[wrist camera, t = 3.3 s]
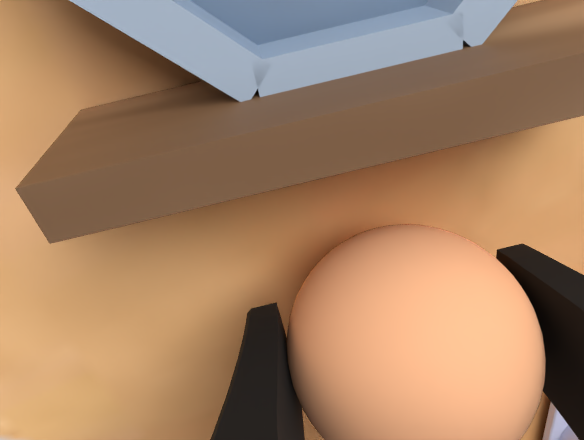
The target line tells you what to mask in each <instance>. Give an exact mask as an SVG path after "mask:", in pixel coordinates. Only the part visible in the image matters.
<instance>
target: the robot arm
mask: <svg viewBox="0 0 584 440" xmlns="http://www.w3.org/2000/svg"><path fill="white" fill-rule="evenodd" d="M496 259H497V260H498V261H499V262H500V263H501V264H503V265H504V266H505V267H506V269H507V270H508V271H509V272H510V273H511V274H512V275H513V276H514V277H515V279H516V280H517V281H518V283H519V284H520V286H521V287H522V289H523V290H524V292H525V293H526V295H527V297H528V299H529V300H530V302H531V304H532V306H533V308H534V310H535V313H536V316H537V319H538V322H539V325H540V328H541V331H542V335H543V342H544V349H545V357H546V365H545V381H544V387H543V391H544V393H545V394H546V396H547V397H548V398H549V400H550V401H551V403H550V408H549V412H548V417H547V421H546V426H545V431H544V435H543V440H584V275H582V274H580V273H578V272H577V271H575V270H573V269H571V268H569V267H567V266H565V265H563V264H561V263H560V262H558V261H556V260H554V259H552V258H550V257H548V256H546V255H544V254H542V253H540V252H539V251H537V250H535V249H533V248H531V247H529V246H527V245H525V244H519V245H514V246H510V247H506V248H502V249H498V250H497V256H496ZM211 440H305V438H304V427H303V416H302V406H301V404H300V401H299V399H298V397H297V394H296V392H295V389H294V387H293V383H292V379H291V375H290V370H289V365H288V357H287V337H286V334H285V330H284V327H283V324H282V320H281V317H280V313H279V310H278V307H277V303H273V304H268V305H264V306H260V307H256V308H252V309H250V311H249V312H248V313H247V319H246V325H245V331H244V335H243V340H242V344H241V348H240V352H239V356H238V360H237V363H236V367H235V370H234V373H233V377H232V380H231V383H230V387H229V390H228V393H227V396H226V399H225V402H224V404H223V407H222V410H221V413H220V415H219V418H218V421H217V424H216V426H215V429H214V432H213V434H212V437H211Z"/></svg>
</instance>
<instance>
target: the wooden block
mask: <svg viewBox="0 0 584 440" xmlns="http://www.w3.org/2000/svg"><path fill="white" fill-rule="evenodd" d="M583 115H584V0H542V1H537V2H533V3H529V4H525V5H521V6H516V7H512V8H511V9H510V10H509V11H508V13H507V14H506V15H505V16H504V18H503V19H502V20H501V21H500V23H499V24H498V25H497V26H496V28H495V29H494V30H493V31H492V33H491V34H490V35H489V36H488V38H487V39H486V40H485V41H484V43H483V44H482V45H477V46H473V47H470V46H468V45H466V44H463V49H461V50H456V51H452V52H448V53H444V54H440V55H435V56H431V57H427V58H423V59H419V60H414V61H410V62H406V63H402V64H398V65H393V66H389V67H385V68H381V69H377V70H372V71H368V72H364V73H360V74H356V75H351V76H347V77H343V78H339V79H335V80H330V81H326V82H322V83H318V84H314V85H310V86H305V87H301V88H297V89H293V90H289V91H284V92H280V93H276V94H272V95H268V96H263V97H260V96H259V92H258V89H257V91H256V92H255V94H254V96H253V97H252V99H251V100H247V101H242V102H239V101H238V100H236V99H234V98H233V97H231V96H229V95H228V94H226V93H224V92H223V91H221V90H219V89H218V88H216V87H214V86H213V85H211V84H209V83H207V82H206V81H201V82H197V83H192V84H188V85H184V86H180V87H176V88H171V89H167V90H163V91H159V92H155V93H150V94H146V95H142V96H138V97H134V98H129V99H125V100H121V101H117V102H112V103H108V104H104V105H100V106H96V107H91V108H87V109H83V110H80V112H79V113H78V114H77V115H76V116H75V118H74V119H73V120H72V121H71V122H70V124H69V125H68V126H67V127H66V128H65V130H64V131H63V132H62V133H61V134H60V136H59V137H58V138H57V139H56V140H55V142H54V143H53V144H52V145H51V146H50V148H49V149H48V150H47V151H46V152H45V154H44V155H43V156H42V157H41V158H40V160H39V161H38V162H37V163H36V164H35V166H34V167H33V168H32V169H31V170H30V172H29V173H28V174H27V175H26V176H25V178H24V179H23V180H22V181H21V182H20V184H19V185H18V186H17V187H16V188H15V189H16V191H17V192H18V194H19V195H20V197H21V199H22V200H23V202H24V203H25V205H26V206H27V208H28V210H29V211H30V213H31V214H32V216H33V218H34V219H35V221H36V222H37V224H38V226H39V227H40V229H41V230H42V232H43V234H44V235H45V237H46V238H47V240H48V242H49V243H50V244H51V243H55V242H59V241H63V240H67V239H71V238H76V237H80V236H84V235H88V234H92V233H96V232H101V231H105V230H109V229H113V228H117V227H121V226H126V225H130V224H134V223H138V222H142V221H146V220H151V219H155V218H159V217H163V216H167V215H171V214H175V213H180V212H184V211H188V210H192V209H196V208H200V207H205V206H209V205H213V204H217V203H221V202H225V201H230V200H234V199H238V198H242V197H246V196H250V195H255V194H259V193H263V192H267V191H271V190H275V189H280V188H284V187H288V186H292V185H296V184H300V183H305V182H309V181H313V180H317V179H321V178H325V177H330V176H334V175H338V174H342V173H346V172H350V171H354V170H359V169H363V168H367V167H371V166H375V165H379V164H384V163H388V162H392V161H396V160H400V159H404V158H409V157H413V156H417V155H421V154H425V153H429V152H434V151H438V150H442V149H446V148H450V147H454V146H459V145H463V144H467V143H471V142H475V141H479V140H484V139H488V138H492V137H496V136H500V135H504V134H509V133H513V132H517V131H521V130H525V129H529V128H534V127H538V126H542V125H546V124H550V123H554V122H558V121H563V120H567V119H571V118H575V117H579V116H583Z"/></svg>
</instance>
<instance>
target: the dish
mask: <svg viewBox="0 0 584 440" xmlns="http://www.w3.org/2000/svg"><path fill="white" fill-rule="evenodd" d="M69 1H71V2H73V3H74V4H76V5H78V6H80V7H81V8H83V9H85V10H86V11H88V12H90V13H91V14H93V15H95V16H96V17H98V18H100V19H101V20H103V21H105V22H106V23H108V24H110V25H112V26H113V27H115V28H117V29H118V30H120V31H122V32H123V33H125V34H127V35H128V36H130V37H132V38H133V39H135V40H137V41H138V42H140V43H142V44H144V45H145V46H147V47H149V48H150V49H152V50H154V51H155V52H157V53H159V54H160V55H162V56H164V57H165V58H167V59H169V60H170V61H172V62H174V63H175V64H177V65H179V66H181V67H182V68H184V69H186V70H187V71H189V72H191V73H192V74H194V75H196V76H197V77H199V78H201V79H202V80H204V81H206V82H207V83H209V84H211V85H213V86H214V87H216V88H218V89H219V90H221V91H223V92H224V93H226V94H228V95H229V96H231V97H233V98H234V99H236V100H238V101H239V102H242V101H247V100H251V99H252V97H253V96H254V94H255V92H256V91H257V89H258V92H259V96H260V97H263V96H268V95H272V94H276V93H280V92H284V91H289V90H293V89H297V88H301V87H305V86H310V85H314V84H318V83H322V82H326V81H330V80H335V79H339V78H343V77H347V76H351V75H356V74H360V73H364V72H368V71H372V70H377V69H381V68H385V67H389V66H393V65H398V64H402V63H406V62H410V61H414V60H419V59H423V58H427V57H431V56H435V55H440V54H444V53H448V52H452V51H456V50H461V49H463V44H466V45H468V46H470V47H473V46H477V45H482V44H483V43H484V41H485V40H486V39H487V38H488V36H489V35H490V34H491V33H492V31H493V30H494V29H495V28H496V26H497V25H498V24H499V23H500V21H501V20H502V19H503V18H504V16H505V15H506V14H507V13H508V11H509V10H510V9H511V8H512V6H513V5H514V4H515V3H516V1H517V0H69Z"/></svg>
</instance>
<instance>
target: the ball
mask: <svg viewBox="0 0 584 440" xmlns="http://www.w3.org/2000/svg"><path fill="white" fill-rule="evenodd" d="M287 357H288V365H289V370H290V375H291V379H292V383H293V387H294V389H295V392H296V394H297V397H298V399H299V401H300V404H301V406H302V408H303V410H304V412H305V413H306V415H307V417H308V418H309V420H310V421H311V423H312V424H313V426H314V427H315V429H316V430H317V431H318V432H319V433H320V435H321V436H322V437H323V438H324V439H325V440H520V439H521V438H522V436H523V435H524V434H525V432H526V431H527V429H528V428H529V426H530V424H531V422H532V420H533V418H534V415H535V413H536V411H537V409H538V407H539V403H540V400H541V396H542V391H543V387H544V381H545V365H546V357H545V349H544V342H543V335H542V331H541V328H540V325H539V322H538V319H537V316H536V313H535V310H534V308H533V306H532V304H531V302H530V300H529V299H528V297H527V295H526V293H525V292H524V290H523V289H522V287H521V286H520V284H519V283H518V281H517V280H516V279H515V277H514V276H513V275H512V274H511V273H510V272H509V271H508V270H507V269H506V267H505V266H504V265H503V264H501V263H500V262H499V261H498V260H497V259H496V258H495V257H494V256H493V255H491V254H490V253H488V252H487V251H486V250H484V249H483V248H481V247H480V246H478V245H477V244H476V243H474V242H472V241H470V240H468V239H466V238H464V237H462V236H459V235H457V234H455V233H452V232H449V231H446V230H443V229H439V228H435V227H430V226H424V225H412V224H404V225H389V226H384V227H378V228H374V229H371V230H368V231H365V232H362V233H360V234H357V235H355V236H353V237H351V238H349V239H347V240H345V241H344V242H342V243H341V244H339V245H338V246H336V247H335V248H333V249H332V250H331V251H330V252H329V253H328V254H326V255H325V256H324V257H323V258H322V259H321V260H320V261H319V262H318V263H317V265H316V266H315V267H314V268H313V269H312V270H311V272H310V273H309V275H308V276H307V277H306V279H305V281H304V283H303V285H302V286H301V288H300V290H299V292H298V294H297V296H296V299H295V302H294V305H293V308H292V311H291V314H290V319H289V325H288V333H287Z"/></svg>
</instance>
